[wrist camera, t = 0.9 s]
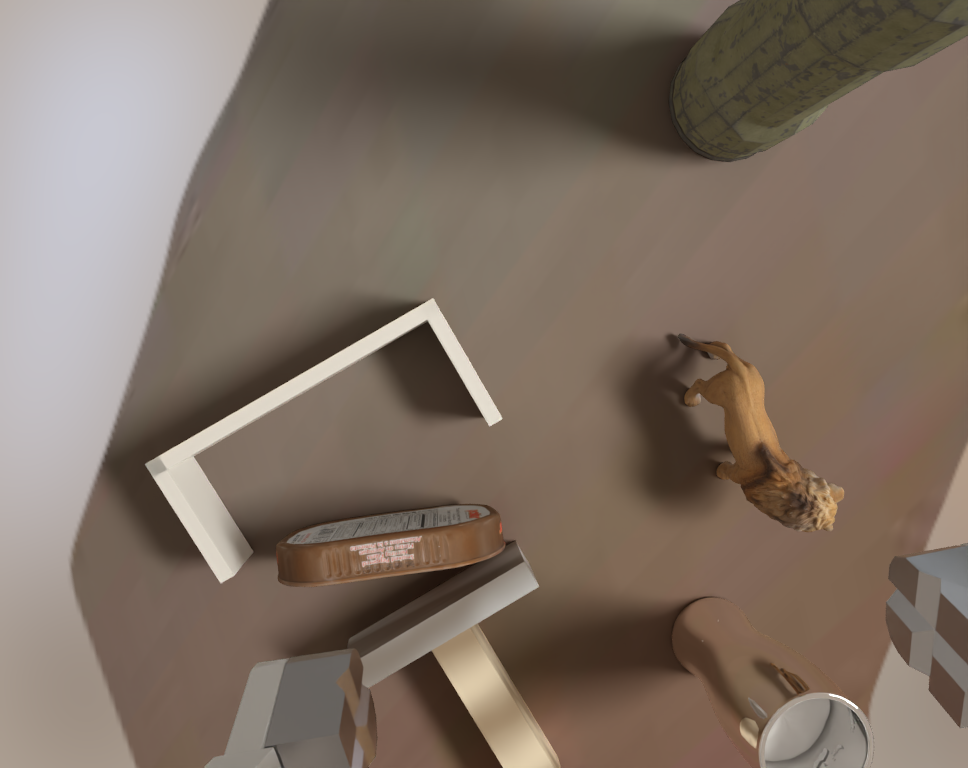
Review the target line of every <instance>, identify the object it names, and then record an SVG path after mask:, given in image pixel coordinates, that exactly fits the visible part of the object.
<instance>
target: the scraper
mask: <svg viewBox="0 0 968 768" xmlns="http://www.w3.org/2000/svg"><path fill="white" fill-rule="evenodd" d="M538 587H539V585H538V583H537V581H536V578H535V576H534V574H533V571H532V569H531V567H530V564H529V562H528V561H527V559H526V557H525V556H524V554H523V552H522V550H521V549H520V547H519V545H518V544H517V542H516V540H515V541H514V542H512V543H510V544H508V545H507V546H505V548H504V550H503V551H502V552H501V553H499V554H497V555H496V556H494V557H491V558H489V559H486V560H484V561H480V562H478V563H476V564H475V565H473V566H471V567H469V568H468V569H466V570H464V571H463V572H461V573H459V574H458V575H456V576H454V577H453V578H451V579H449V580H447V581H446V582H444V583H442V584H441V585H439V586H437V587H436V588H434V589H432V590H430V591H429V592H427V593H425V594H424V595H422V596H420V597H419V598H417V599H415V600H414V601H412V602H410V603H408V604H407V605H405V606H403V607H402V608H400V609H398V610H397V611H395V612H393V613H391V614H390V615H388V616H386V617H385V618H383V619H381V620H380V621H378V622H376V623H375V624H373V625H371V626H369V627H368V628H366V629H364V630H363V631H361V632H359V633H358V634H356V635H354V636H353V637H351V638H349V641H348V645H347V649H351V648H355V649H356V650H358V652H359V655H360V658H361V661H362V664H363V667H364V668H363V677H362V684H363V685H364V686H366V687H367V688H369V687H371V686H373V685H374V684H376V683H378V682H379V681H381V680H383V679H384V678H386V677H388V676H389V675H391V674H393V673H394V672H396V671H398V670H400V669H401V668H403V667H405V666H406V665H408V664H410V663H411V662H413V661H415V660H416V659H418V658H420V657H421V656H423V655H425V654H426V653H428V652H430V651H432V652H433V654H434V655H435V657H436V659H437V660H438V662H439V663H440V665H441V667H442V668H443V670H444V672H445V673H446V675H447V677H448V678H449V680H450V682H451V683H452V685H453V686H454V688H455V690H456V691H457V693H458V695H459V696H460V698H461V700H462V701H463V703H464V704H465V706H466V708H467V709H468V711H469V713H470V714H471V716H472V718H473V719H474V721H475V722H476V724H477V726H478V727H479V729H480V731H481V732H482V734H483V736H484V737H485V739H486V740H487V742H488V744H489V745H490V747H491V749H492V750H493V752H494V754H495V755H496V757H497V758H498V760H499V762H500V763H501V765H502V767H503V768H561V766H560V763H559V760H558V757H557V755H556V753H555V752H554V750H553V748H552V747H551V745H550V743H549V742H548V740H547V738H546V737H545V735H544V733H543V732H542V730H541V728H540V727H539V725H538V723H537V722H536V720H535V718H534V717H533V715H532V713H531V712H530V710H529V708H528V707H527V705H526V703H525V702H524V700H523V698H522V697H521V695H520V693H519V692H518V690H517V688H516V687H515V685H514V683H513V682H512V680H511V678H510V677H509V675H508V673H507V672H506V670H505V668H504V667H503V665H502V663H501V662H500V660H499V658H498V657H497V655H496V653H495V652H494V650H493V648H492V647H491V645H490V643H489V642H488V640H487V638H486V637H485V635H484V633H483V632H482V630H481V628H480V627H479V625H478V623H479V622H480V621H482V620H484V619H485V618H487V617H489V616H491V615H492V614H494V613H496V612H497V611H499V610H501V609H502V608H504V607H506V606H507V605H509V604H511V603H512V602H514V601H516V600H517V599H519V598H521V597H523V596H524V595H526V594H528V593H529V592H531V591H533V590H534V589H536V588H538Z"/></svg>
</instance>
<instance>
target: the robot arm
mask: <svg viewBox="0 0 968 768" xmlns="http://www.w3.org/2000/svg"><path fill="white" fill-rule="evenodd" d="M888 579H889V580H890V581H891V582H892V583H893V584H894V585H895V587H896V588H897V590H896V591H895V592H894V593H893V595H892V596H891V597H890V598H889V600H888V601H887V602H886V624H887V627H888V631H889V634H890V638H891V640H892V642H893V644H894V646H895V648H896V649H897V651H898V653H899V654H900V655H901V657H902V658H903V659H904V661H905V662H906V663H907V664H908V665H909V666H910V667H912V668H914V669H916V670H918V671H920V672H922V673H924V674H926V675H928V676H929V691H930V692H931V694H932V695H933V696H934V697H935V698H936V700H937V701H938V702H939V703H940V705H941V706H942V707H943V708H944V709H945V711H946V712H947V713H948V714H949V715H950V717H952V719H953V720H954V721H955V723H956V724H957V725H958V726H959V727H960V728H964V727H968V543H965V544H962V545H960V546H952V547H946V548H940V549H935V550H929V551H923V552H917V553H912V554H906V555H901V556H895V557H894V558H893V560H892V562H891V564H890V567H889V577H888ZM363 668H364V667H363V664H362V661H361V658H360V655H359V652H358V650H356V649H355V648H351V649H345V650H338V651H331V652H324V653H317V654H310V655H303V656H296V657H290V658H289V659H280V660H273V661H266V662H259V663H257V664H256V665H255V666H254V667H253V669H252V670H251V672H250V675H249V678H248V681H247V684H246V687H245V691H244V694H243V697H242V700H241V703H240V706H239V709H238V713H237V716H236V719H235V722H234V725H233V728H232V731H231V735H230V738H229V741H228V744H227V747H226V750H225V753H224V756H218V757H214V758H213V759H212V760H211V761H210V762H209V763H208V764H207V765H206V766H205V767H204V768H369V767H368V766H369V765H370V764H371V762H372V761H373V760H374V758H375V757H376V749H377V723H376V713H375V707H374V702H373V698H372V695H371V691H370V689H368V688H367V687H366V686H364V685H363V684H362V677H363Z"/></svg>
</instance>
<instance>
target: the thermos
mask: <svg viewBox="0 0 968 768" xmlns="http://www.w3.org/2000/svg"><path fill="white" fill-rule="evenodd" d="M966 36H968V0H740V1H738V2H736V3H735V4H733V5H731V6H729V7H728V8H727V9H726V10H725V11H724V13H723V14H722V15H721V16H720V17H719V18H718V19H717V20H716V21H715V23H714V24H713V25H712V26H711V27H710V28H709V29H708V30H707V31H706V33H705V34H704V35H703V36H702V37H701V38H700V39H699V40H698V41H697V43H696V44H695V45H694V46H693V47H692V48H691V49H690V51H689V54H688V56H687V57H686V58H685V59H684V60H683V61H682V63H681V64H680V65H679V66H678V69H677V71H676V73H675V75H674V78H673V80H672V82H671V88H670V96H669V106H670V112H671V117H672V122H673V124H674V126H675V127H676V129H677V131H678V133H679V135H680V137H681V139H682V140H683V141H684V142H686V143H687V144H688V145H689V146H690V147H691V148H692V149H693V150H694V151H695V152H697V153H699V154H701V155H703V156H705V157H707V158H709V159H711V160H719V161H726V162H731V161H736V160H741V159H746V158H749V157H750V156H752V155H754V154H756V153H757V152H762V151H766V150H767V149H769V148H771V147H773V146H775V145H776V144H778V143H780V142H782V141H783V140H785V139H787V138H789V137H791V136H792V135H794V134H796V133H798V132H799V131H801V130H803V129H805V128H806V127H808V126H810V125H811V124H813V123H814V122H815V121H816V119H817V118H818V117H819V116H820V115H821V114H822V113H823V112H824V111H825V109H826V108H827V107H828V105H829V104H830V103H832V102H834V101H835V100H837V99H839V98H841V97H842V96H844V95H846V94H847V93H849V92H851V91H852V90H854V89H856V88H858V87H859V86H861V85H863V84H864V83H866V82H868V81H870V80H871V79H873V78H875V77H876V76H878V75H880V74H881V73H883V72H885V71H891V70H896V69H901V68H906V67H911V66H914V65H916V64H918V63H920V62H921V61H923V60H925V59H927V58H929V57H930V56H932V55H934V54H936V53H937V52H939V51H941V50H943V49H945V48H946V47H948V46H950V45H952V44H953V43H955V42H957V41H959V40H961V39H962V38H964V37H966Z"/></svg>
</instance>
